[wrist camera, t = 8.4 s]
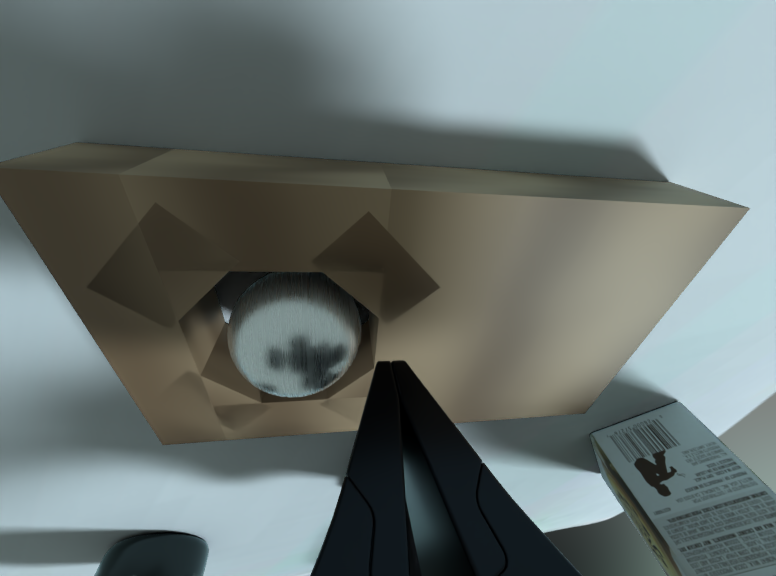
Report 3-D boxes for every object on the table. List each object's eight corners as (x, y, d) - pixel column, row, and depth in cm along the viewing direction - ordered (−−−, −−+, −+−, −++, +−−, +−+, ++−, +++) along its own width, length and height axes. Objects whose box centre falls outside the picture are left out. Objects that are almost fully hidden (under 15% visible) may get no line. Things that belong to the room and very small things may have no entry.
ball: (376, 320, 7) (191, 332, 6) (366, 415, 10) (229, 434, 9) (355, 245, 10) (230, 246, 10) (351, 330, 13) (250, 337, 12)
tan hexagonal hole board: (671, 182, 10) (750, 208, 8) (554, 371, 16) (584, 413, 14) (77, 142, 8) (-18, 167, 6) (189, 388, 13) (162, 445, 11)
